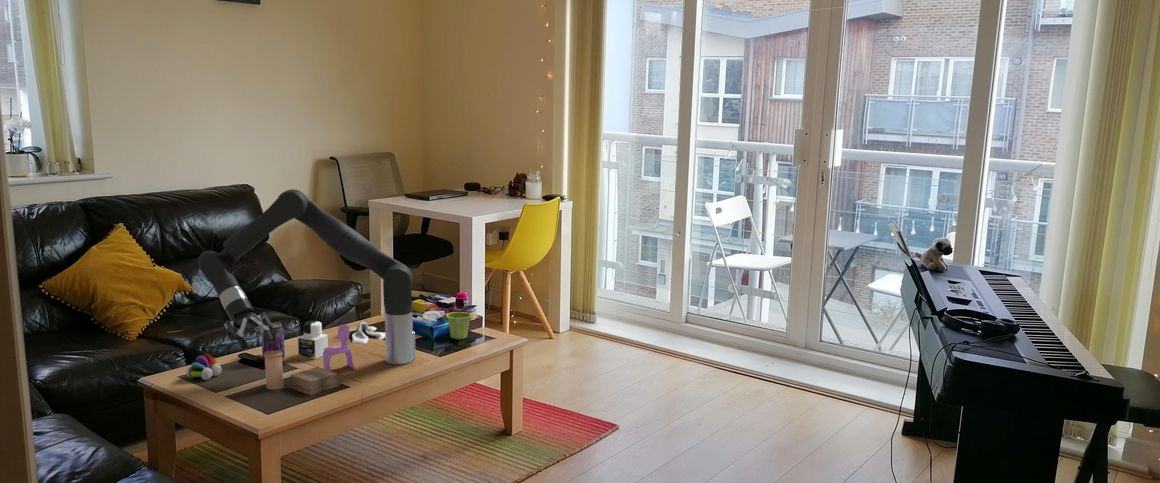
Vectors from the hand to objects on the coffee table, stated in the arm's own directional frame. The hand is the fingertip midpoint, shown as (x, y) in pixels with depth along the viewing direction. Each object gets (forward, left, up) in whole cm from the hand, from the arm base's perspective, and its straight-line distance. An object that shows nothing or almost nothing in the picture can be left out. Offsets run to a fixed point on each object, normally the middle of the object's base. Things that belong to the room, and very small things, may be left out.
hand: (259, 345), depth 269 cm
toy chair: (-23, +10, -12) cm, 28 cm away
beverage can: (-16, -16, -12) cm, 26 cm away
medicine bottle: (-27, -9, -12) cm, 31 cm away
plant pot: (-75, +14, -12) cm, 77 cm away
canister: (0, +8, -12) cm, 14 cm away
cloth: (-52, -16, -13) cm, 56 cm away
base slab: (-8, +17, -12) cm, 22 cm away
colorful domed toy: (+8, -18, -12) cm, 23 cm away
